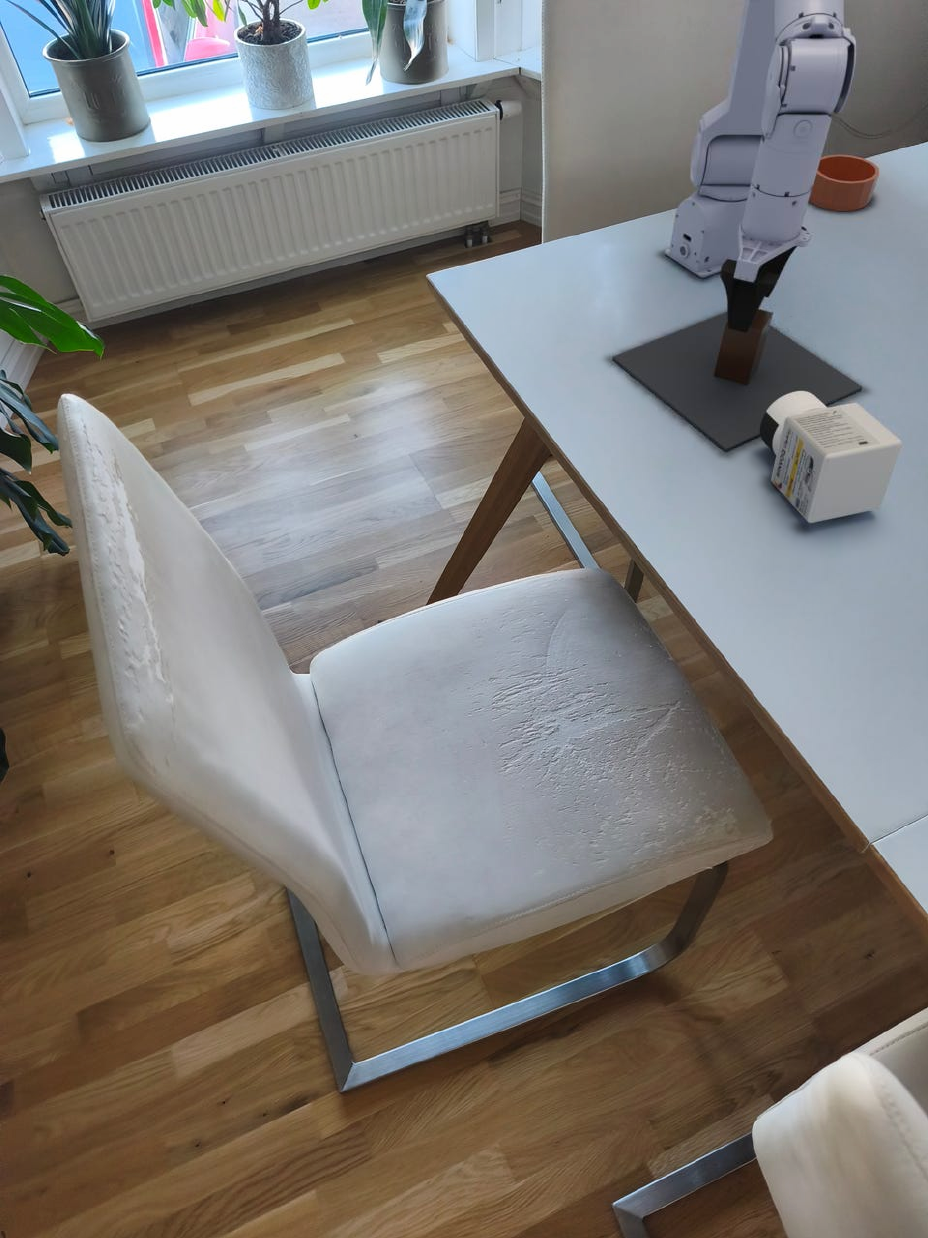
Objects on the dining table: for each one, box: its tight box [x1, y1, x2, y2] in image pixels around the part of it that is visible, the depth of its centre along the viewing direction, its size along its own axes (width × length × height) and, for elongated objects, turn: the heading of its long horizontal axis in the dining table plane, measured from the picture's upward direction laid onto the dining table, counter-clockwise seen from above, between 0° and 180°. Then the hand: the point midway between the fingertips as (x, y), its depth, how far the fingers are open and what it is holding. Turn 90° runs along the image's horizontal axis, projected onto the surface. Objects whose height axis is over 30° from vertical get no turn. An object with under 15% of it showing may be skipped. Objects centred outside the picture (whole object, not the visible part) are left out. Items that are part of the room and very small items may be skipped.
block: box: [714, 308, 774, 385], centre depth 96 cm, size 4×4×7 cm
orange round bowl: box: [808, 154, 880, 212], centre depth 123 cm, size 9×9×4 cm
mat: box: [611, 311, 863, 452], centre depth 99 cm, size 20×20×1 cm
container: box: [759, 391, 903, 524], centre depth 84 cm, size 8×8×13 cm
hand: (749, 311), depth 92 cm, fingers open, 7 cm apart
